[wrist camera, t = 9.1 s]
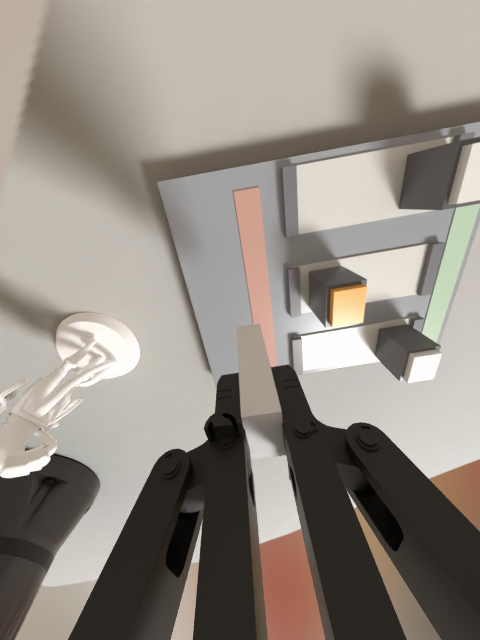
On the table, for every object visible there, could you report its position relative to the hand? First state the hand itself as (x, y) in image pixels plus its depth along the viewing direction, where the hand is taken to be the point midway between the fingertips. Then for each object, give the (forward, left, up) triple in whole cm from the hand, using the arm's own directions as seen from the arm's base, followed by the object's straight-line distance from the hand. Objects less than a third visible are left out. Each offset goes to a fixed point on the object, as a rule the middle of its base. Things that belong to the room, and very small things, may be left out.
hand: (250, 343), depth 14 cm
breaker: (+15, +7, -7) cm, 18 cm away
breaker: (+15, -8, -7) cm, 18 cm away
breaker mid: (+8, 0, -7) cm, 11 cm away
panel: (+8, 0, -9) cm, 12 cm away
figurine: (-17, -4, -10) cm, 20 cm away
